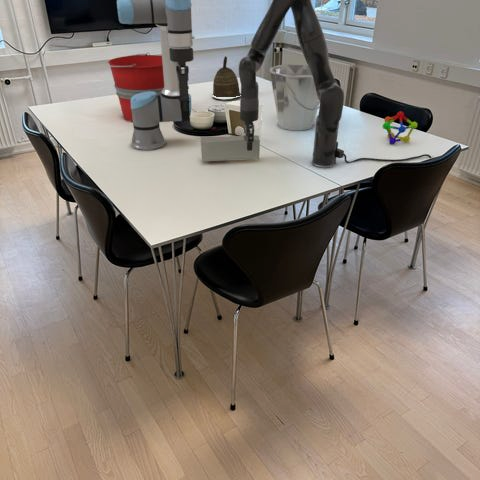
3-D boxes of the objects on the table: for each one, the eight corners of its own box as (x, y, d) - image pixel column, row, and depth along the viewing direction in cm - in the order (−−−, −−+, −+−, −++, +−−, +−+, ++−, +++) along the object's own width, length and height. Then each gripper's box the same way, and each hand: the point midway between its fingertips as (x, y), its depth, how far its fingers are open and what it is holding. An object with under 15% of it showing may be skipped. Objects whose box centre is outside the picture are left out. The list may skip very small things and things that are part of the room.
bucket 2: (296, 138, 215) (301, 78, 201) (255, 124, 234) (256, 68, 219) (335, 125, 232) (342, 70, 217) (294, 113, 251) (297, 61, 236)
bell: (227, 105, 294) (202, 96, 282) (238, 66, 289) (213, 55, 277) (243, 108, 280) (217, 98, 268) (255, 66, 275) (229, 55, 263)
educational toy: (377, 146, 209) (379, 114, 202) (384, 138, 219) (386, 107, 211) (411, 149, 202) (415, 116, 195) (417, 141, 212) (420, 109, 204)
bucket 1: (122, 106, 262) (115, 52, 246) (181, 107, 261) (178, 52, 245) (105, 124, 232) (96, 64, 216) (172, 125, 231) (167, 64, 216)
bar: (201, 161, 186) (201, 141, 182) (201, 156, 191) (200, 137, 186) (259, 159, 188) (259, 139, 184) (257, 154, 193) (257, 135, 189)
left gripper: (195, 53, 130) (198, 125, 141) (191, 41, 150) (194, 104, 162) (169, 54, 129) (174, 126, 140) (168, 41, 150) (173, 105, 161)
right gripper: (261, 112, 174) (259, 153, 182) (256, 103, 186) (255, 141, 195) (242, 113, 173) (241, 154, 182) (238, 103, 185) (238, 142, 194)
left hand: (185, 114), depth 151 cm, fingers open, 13 cm apart
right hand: (248, 147), depth 188 cm, fingers closed on bar, 5 cm apart
